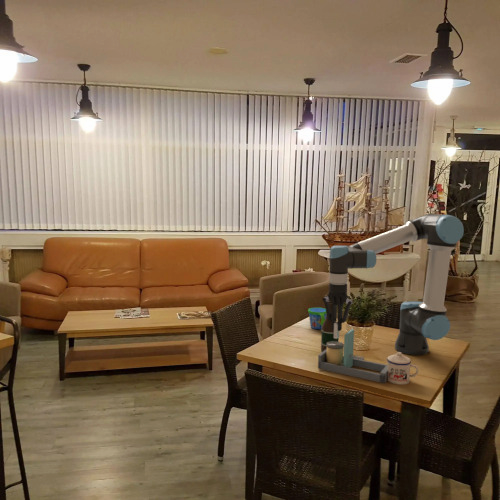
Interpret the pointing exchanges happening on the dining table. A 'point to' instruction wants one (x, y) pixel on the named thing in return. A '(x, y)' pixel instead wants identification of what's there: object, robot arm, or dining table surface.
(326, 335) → the beer bottle
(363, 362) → the tray
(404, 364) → the teacup with lid
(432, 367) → the dining table surface
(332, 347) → the jar
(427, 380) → the dining table surface
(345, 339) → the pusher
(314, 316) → the snack cup
